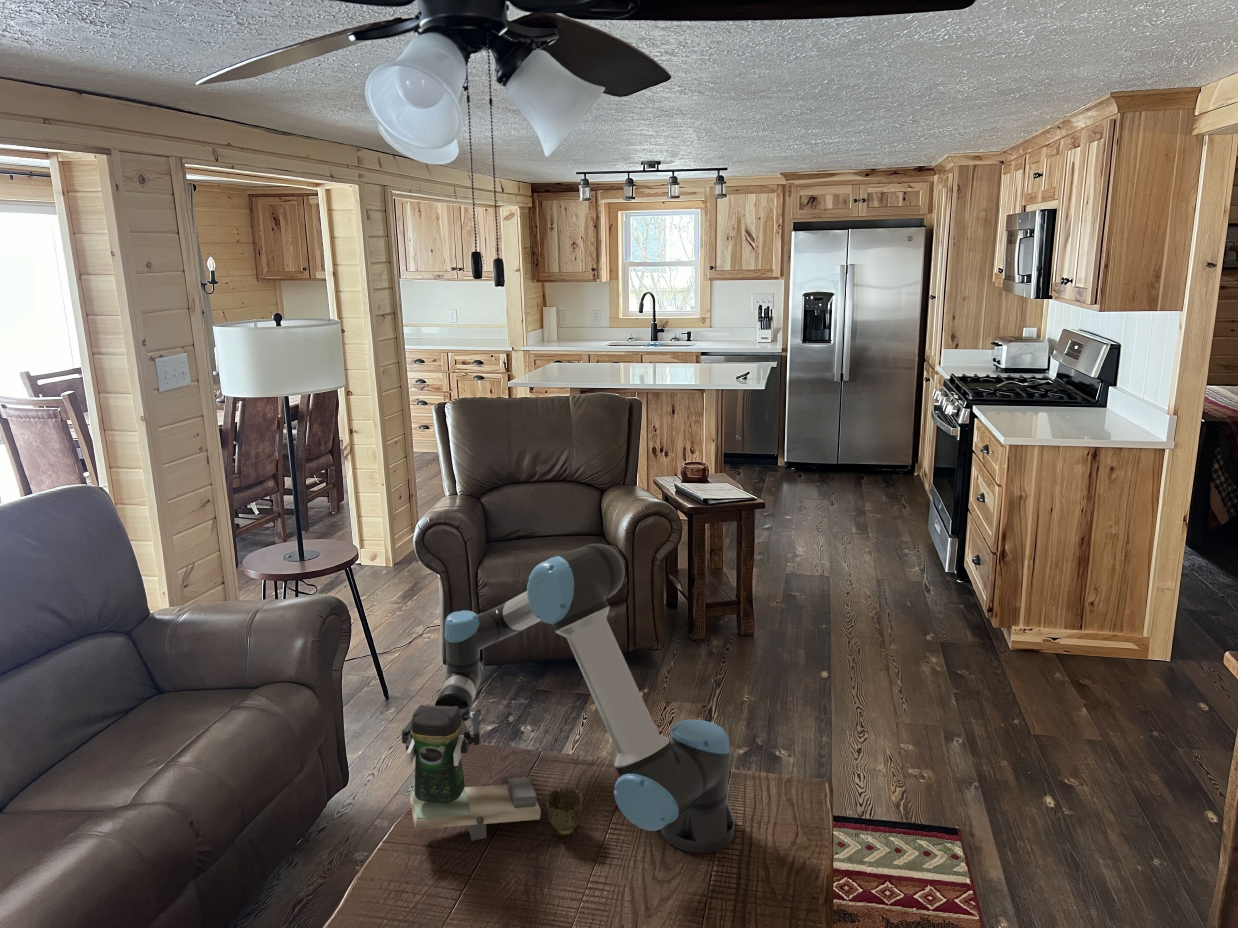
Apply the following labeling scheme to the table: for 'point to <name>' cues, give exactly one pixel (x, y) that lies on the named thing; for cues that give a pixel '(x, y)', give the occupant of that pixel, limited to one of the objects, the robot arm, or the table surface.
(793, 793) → the table surface
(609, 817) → the table surface
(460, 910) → the table surface
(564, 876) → the table surface
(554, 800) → the cup
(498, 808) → the beam
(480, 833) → the beam stand
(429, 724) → the coffee jar
